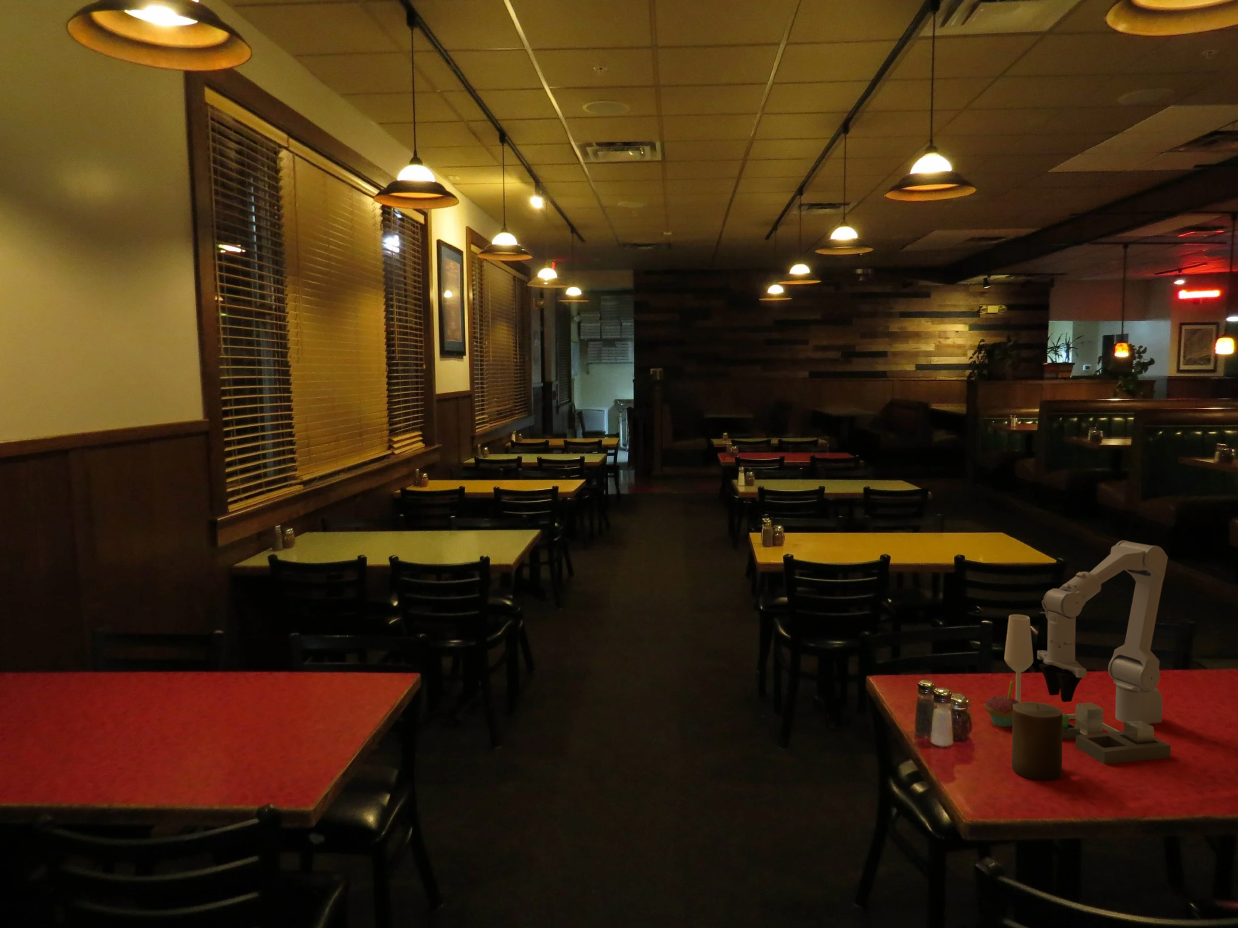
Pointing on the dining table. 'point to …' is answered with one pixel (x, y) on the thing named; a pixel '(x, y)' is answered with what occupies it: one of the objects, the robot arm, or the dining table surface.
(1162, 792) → the dining table surface
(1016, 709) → the pillar candle
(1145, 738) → the seated billet
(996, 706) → the cupcake
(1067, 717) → the button
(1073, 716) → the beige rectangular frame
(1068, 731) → the switch box
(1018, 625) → the champagne flute
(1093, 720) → the block
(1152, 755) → the grey holding fixture
